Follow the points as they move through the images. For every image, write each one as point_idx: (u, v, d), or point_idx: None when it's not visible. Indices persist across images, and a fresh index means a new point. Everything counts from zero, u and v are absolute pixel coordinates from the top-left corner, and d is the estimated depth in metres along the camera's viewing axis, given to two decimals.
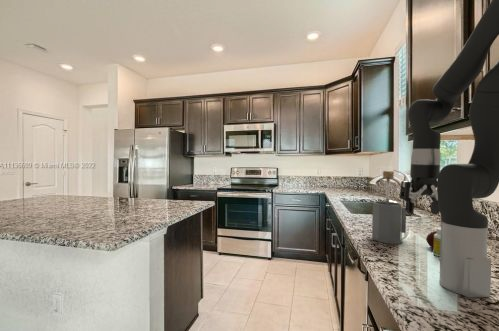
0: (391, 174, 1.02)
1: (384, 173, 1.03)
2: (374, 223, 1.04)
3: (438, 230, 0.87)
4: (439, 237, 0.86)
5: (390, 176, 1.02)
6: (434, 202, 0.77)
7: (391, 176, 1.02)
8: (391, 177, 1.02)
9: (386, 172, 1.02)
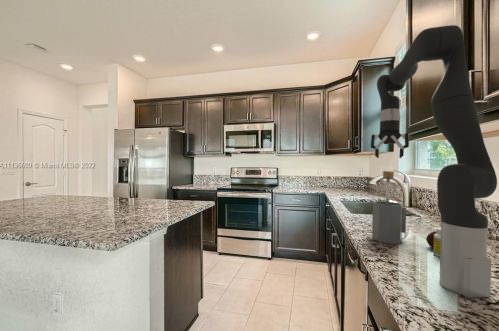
0: (391, 174, 1.02)
1: (384, 173, 1.03)
2: (374, 223, 1.04)
3: (438, 230, 0.87)
4: (439, 237, 0.86)
5: (390, 176, 1.02)
6: None
7: (391, 176, 1.02)
8: (391, 177, 1.02)
9: (386, 172, 1.02)
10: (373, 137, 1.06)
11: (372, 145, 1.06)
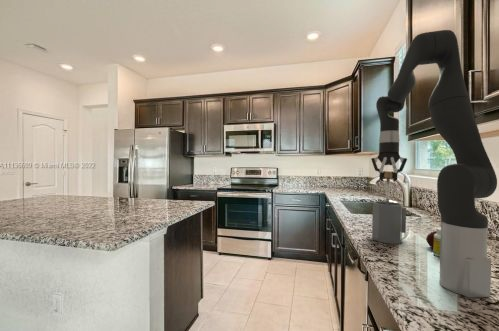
0: (391, 174, 1.02)
1: (384, 173, 1.03)
2: (374, 223, 1.04)
3: (438, 230, 0.87)
4: (439, 237, 0.86)
5: (390, 176, 1.02)
6: (382, 172, 1.05)
7: (391, 176, 1.02)
8: (391, 177, 1.02)
9: (386, 172, 1.02)
10: (373, 160, 1.05)
11: (376, 168, 1.05)
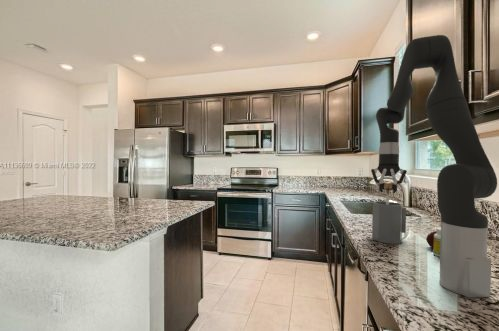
0: (391, 186, 1.02)
1: (384, 184, 1.03)
2: (374, 223, 1.04)
3: (438, 230, 0.87)
4: (439, 237, 0.86)
5: (390, 188, 1.02)
6: None
7: (390, 187, 1.02)
8: (391, 189, 1.02)
9: (386, 184, 1.02)
10: (373, 171, 1.05)
11: (376, 179, 1.05)
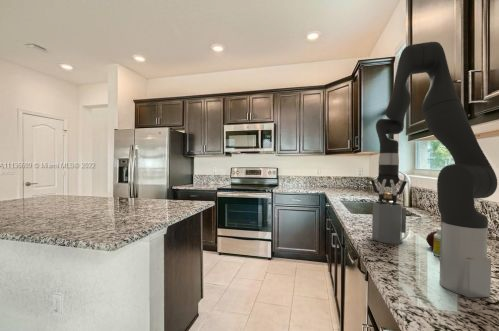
0: (390, 196, 1.02)
1: (383, 195, 1.03)
2: (374, 223, 1.04)
3: (438, 230, 0.87)
4: (439, 237, 0.86)
5: (389, 198, 1.02)
6: (382, 194, 1.05)
7: (390, 198, 1.02)
8: (390, 199, 1.02)
9: (385, 194, 1.03)
10: (373, 182, 1.06)
11: (376, 190, 1.05)
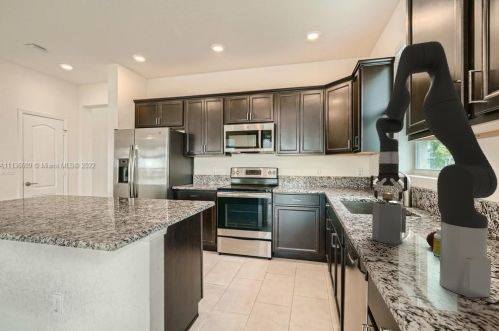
0: (390, 196, 1.02)
1: (383, 195, 1.03)
2: (374, 223, 1.04)
3: (438, 230, 0.87)
4: (439, 237, 0.86)
5: (389, 198, 1.02)
6: None
7: (390, 198, 1.02)
8: (390, 199, 1.02)
9: (385, 194, 1.03)
10: (372, 178, 1.06)
11: (371, 186, 1.06)
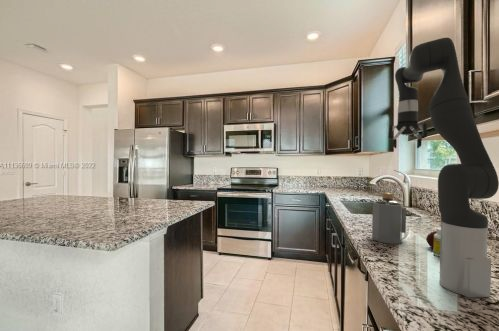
0: (390, 196, 1.02)
1: (383, 195, 1.03)
2: (374, 223, 1.04)
3: (438, 230, 0.87)
4: (439, 237, 0.86)
5: (389, 198, 1.02)
6: (396, 140, 1.08)
7: (390, 198, 1.02)
8: (390, 199, 1.02)
9: (385, 194, 1.03)
10: (391, 128, 1.08)
11: (390, 136, 1.08)
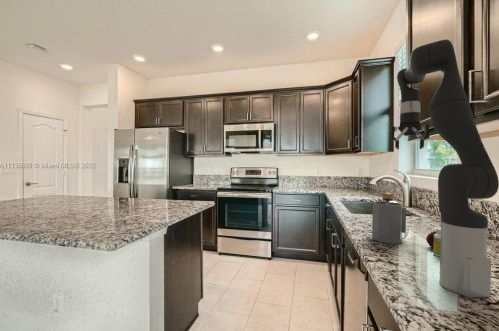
0: (390, 196, 1.02)
1: (383, 195, 1.03)
2: (374, 223, 1.04)
3: (438, 230, 0.87)
4: (439, 237, 0.86)
5: (389, 198, 1.02)
6: (398, 141, 1.09)
7: (390, 198, 1.02)
8: (390, 199, 1.02)
9: (385, 194, 1.03)
10: (393, 129, 1.09)
11: (392, 137, 1.09)
